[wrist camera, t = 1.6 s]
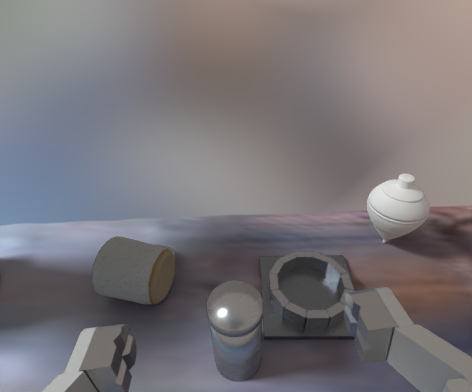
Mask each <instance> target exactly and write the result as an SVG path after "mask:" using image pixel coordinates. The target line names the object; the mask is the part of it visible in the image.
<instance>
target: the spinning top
mask: <svg viewBox="0 0 472 392" xmlns="http://www.w3.org/2000/svg"><path fill="white" fill-rule="evenodd" d="M414 182H415V177H414V176H412V175H410V174H401V175H399V178H398V180H388V181H386V182H384V183H382V184H380V185H378V186H377V187H375V188H374V189H373V190H372V192H371V193H370V195H369V197H368V201H367V209H368V213H369V216H370V219H371V222H372V223H373V225H374V227H375V228H376V230H377V232H378V233H379V234H380V236H381V237H382V238H383V243H385V242H386V240H390V239H394V238H397V237H400V236H403V235H405V234H408V233H410V232H412V231H413V230H415V229H416V228H418V227H419V226H421V225H422V224H423V223H424V222H425V220H426V219H427V217H428V215H429V209H430V207H429V202H428V199H427V197H426V195H425V194H424V192H423V190H422V189H421V188H420V187H419V186H417V185H415V184H414Z"/></svg>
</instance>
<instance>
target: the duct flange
mask: <svg viewBox="0 0 472 392" xmlns="http://www.w3.org/2000/svg"><path fill="white" fill-rule="evenodd" d="M260 274H261V291H262V300H263V325H264V339H355V338H354V337H353V336H352V335H350V334H349V332H348V329H347V327H346V323H345V319H344V307H345V306H346V305H347V303H346V301H345V295H346V293H348V292H354V291H355V288H354V285H353V282H352V279H351V276H350V274H349V271H348V268H347V265H346V262H345V259H344V256H343V255H339V256H325V255H322V254H319V253H317V252H314V253H313V251H300V252H292V253H290V254H288V255H286V256H260Z"/></svg>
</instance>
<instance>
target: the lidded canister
mask: <svg viewBox="0 0 472 392" xmlns="http://www.w3.org/2000/svg"><path fill="white" fill-rule="evenodd" d="M206 311H207V317H208V321H209V323H210V330H211V336H212V342H213V349H214V355H215V361H216V366H217V368H218V370H219V372H220V373H221V374H222V375H223V376H224V377H225V378H227V379H229V380H231V381H244V380H247V379H249V378H251V377H252V376H253V375H254V374H255V373H256V372H257V370H258V368H259V366H260V361H261V334H262V317H263V300H262V297H261V295H260V293H259V292H258V291H257V289H256V288H255V287H254V286H252V285H251V284H249V283H246V282H243V281H237V280H234V281H227V282H224V283H222V284H220V285H218V286H217V287H216V288H215V289H214V290H213V291H212V292H211V294H210V295H209V298H208V300H207V304H206Z"/></svg>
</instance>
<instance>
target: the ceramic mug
mask: <svg viewBox="0 0 472 392" xmlns="http://www.w3.org/2000/svg"><path fill="white" fill-rule="evenodd" d="M175 267H176V261H175V251H174V250H173V249H172V248H169V247H167V246H163V245H153V244H148V243H144V242H140V241H137V240H133V239H129V238H124V237H114V238H111V239H110V240H108V241H107V242H106V243H105V244H104V245H103V247H102V248H101V250H100V251H99V253H98V255H97V257H96V259H95V262H94V265H93V271H92V283H93V287H94V289H95V291H96V292H97V293H98V294H100V295H102V296H107V297H113V298H117V299H122V300H127V301H132V302H136V303H141V304H158V303H160V302H161V301H162V300H164V299H165V297H166V296H167V294H168V293H169V290H170V288H171V286H172V283H173V279H174V275H175Z"/></svg>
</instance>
